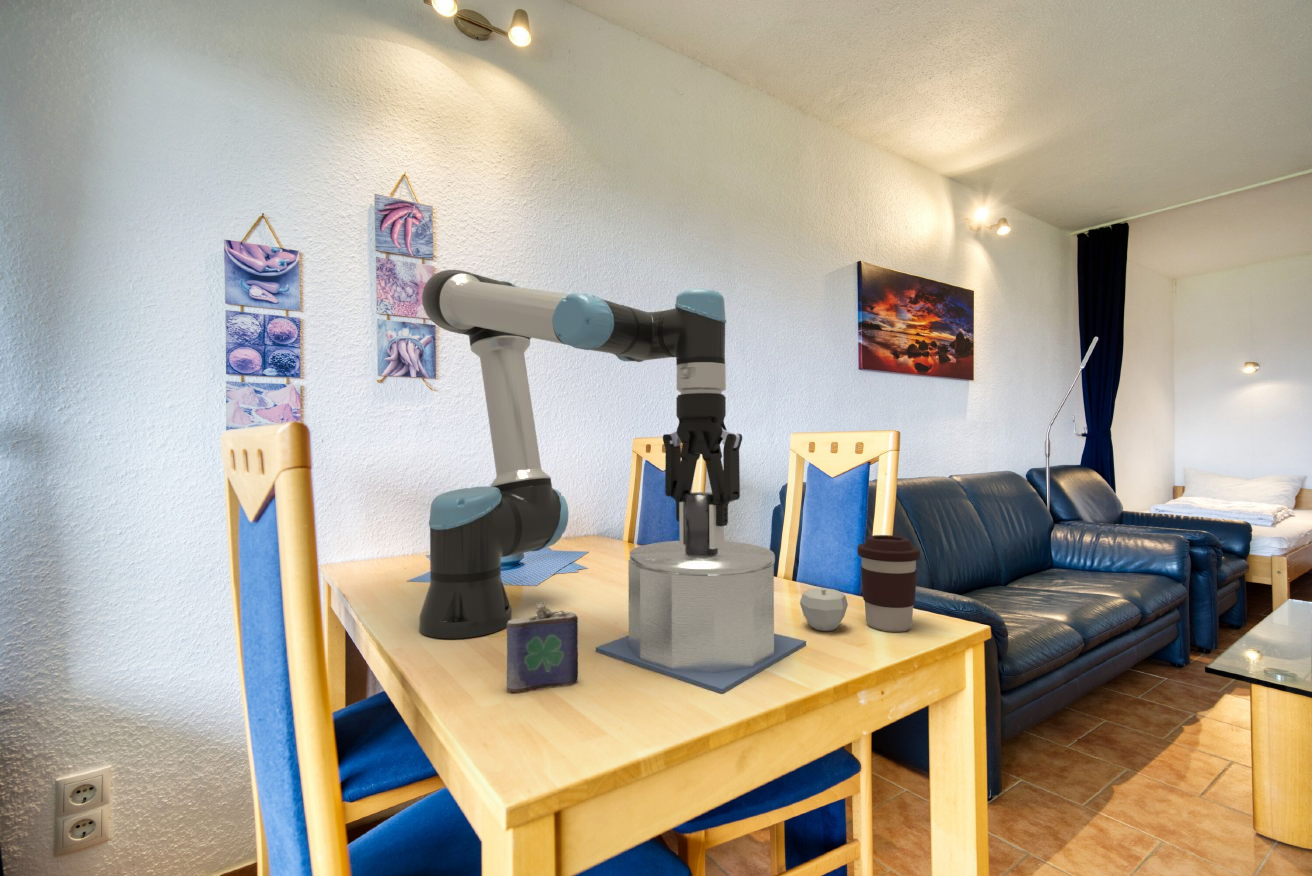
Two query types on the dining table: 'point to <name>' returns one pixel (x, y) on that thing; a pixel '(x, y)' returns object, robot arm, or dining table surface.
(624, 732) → the dining table surface
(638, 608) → the cake dome
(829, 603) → the grey faceted round piece
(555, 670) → the flask
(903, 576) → the coffee cup
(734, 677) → the mat
